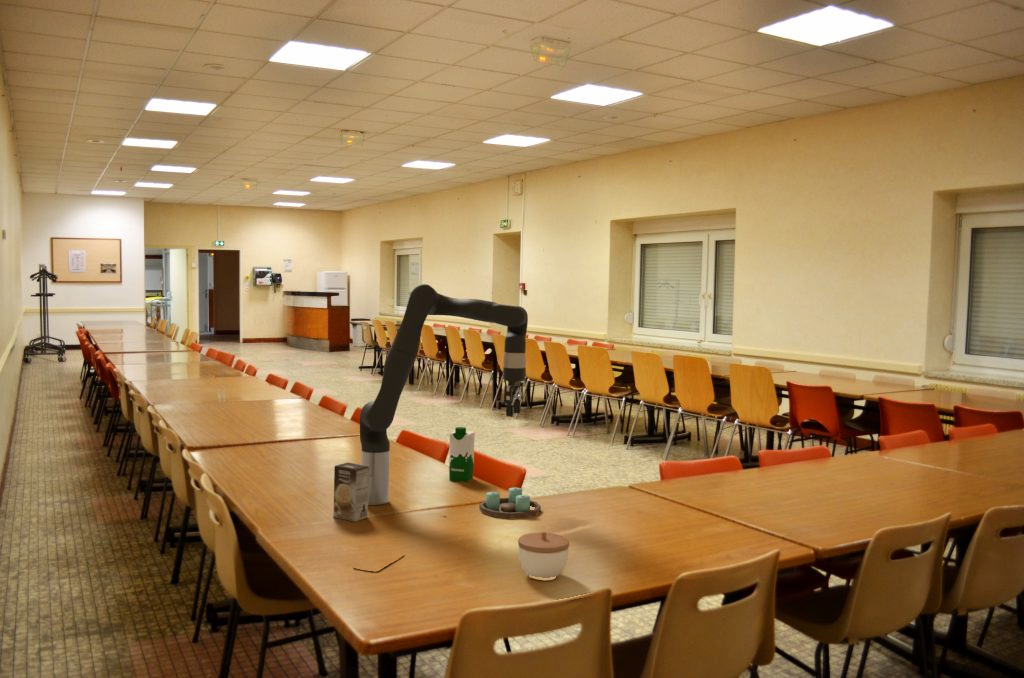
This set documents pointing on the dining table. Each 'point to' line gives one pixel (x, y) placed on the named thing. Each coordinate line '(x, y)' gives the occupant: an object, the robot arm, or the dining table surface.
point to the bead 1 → (493, 501)
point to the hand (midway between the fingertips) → (513, 414)
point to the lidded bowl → (543, 554)
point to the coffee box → (351, 491)
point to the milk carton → (461, 455)
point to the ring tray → (509, 510)
